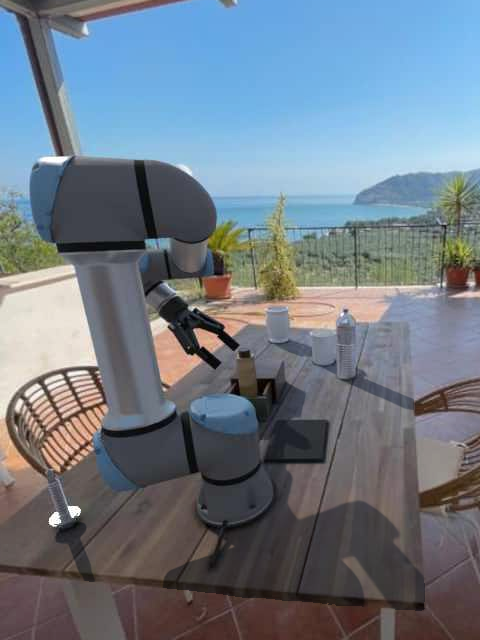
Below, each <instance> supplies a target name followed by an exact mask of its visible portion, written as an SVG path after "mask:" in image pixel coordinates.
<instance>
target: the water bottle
mask: <svg viewBox="0 0 480 640" xmlns="http://www.w3.org/2000/svg"><path fill="white" fill-rule="evenodd" d="M356 325H357V321H356V319H355V317H354V316H353V315H352V314H351V313H349V308H346V307H344V308H342V313H341V314H339V316H338V317H337V318H336V320H335V332H336V340H335V357H336V376H337V378H338V379H340V380H345V381H346V380H347V381H348V380H352V379H354V378H355V377H356V374H357V345H356V343H357V342H356Z"/></svg>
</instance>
